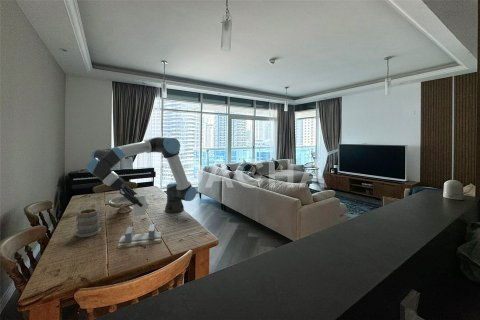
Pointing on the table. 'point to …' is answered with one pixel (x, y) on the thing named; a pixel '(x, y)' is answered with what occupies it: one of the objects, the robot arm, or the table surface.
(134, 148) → the robot arm
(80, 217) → the tankard
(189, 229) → the table surface
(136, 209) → the block
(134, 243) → the mounting board
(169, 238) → the table surface
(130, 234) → the mounted modules
